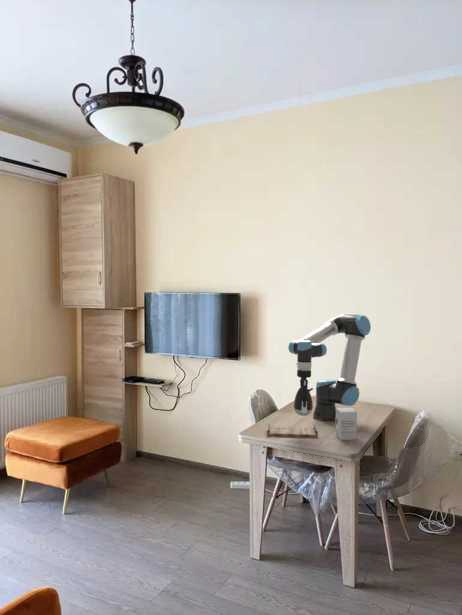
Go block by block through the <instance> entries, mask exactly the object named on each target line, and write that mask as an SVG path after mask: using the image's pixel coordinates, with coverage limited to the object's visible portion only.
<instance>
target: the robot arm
mask: <svg viewBox="0 0 462 615" xmlns="http://www.w3.org/2000/svg"><path fill="white" fill-rule="evenodd" d="M371 326H372V325H371V321H370V319H369V317H367V316H366V315H363V314H338V315H337V316H335V317H332V318H330V319H328V320H327V321H326V322H325V323H324V325H322V326H320V327H318V328H317V329H315V330H314V331H312V332H310V333H308V334H307V335H306V336H304V337H302V338H301V339H298V340H291V341H290V342H289V343H288V347H287V348H288V351H289V353H290V354H294V355H297V356H296V358H297V362H296V364H295V365H296V376H297V377H298V378H300V380H299V385H300V387H301V389H302V399H301V401H302V413H307V400H308V399H307V389H309V388H308V386H309V385H308V383H309V380H308V379H307V378H311V377H312V358H321V357H324V356H326V354H327V353H328V352H327V350H328V349H327V346H326V344H325V343H322V342H323V341H325V340H326V339H328V338H330V337H331V336H335V335H338V334H344V336H345V337H346V342H345V348H344V353H343V358H342V359H343V360H342V364H341V370H340V376H339V378H338V379H336V380H335V379H321V380H317V381H316V386H315V407H314V410H313V412H312V418H314V419H315V420H318V421H328V422H330V421H336V408H337V407H336V404H338V405H343V406H348V407H349V406H350V407H352V406H354V405H355V404H356V403H357V402H358V401H359V398H360V389H359V388H358V387H357V386H358V385H357V382H356V376H357V370H358V369H357V368H358V365H359V364H358V362H359V357H360V352H361V345H362V341H363V340H365V338H366V336H367V335H369V334H370V333H371Z"/></svg>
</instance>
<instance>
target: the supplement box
mask: <svg viewBox="0 0 462 615" xmlns="http://www.w3.org/2000/svg"><path fill="white" fill-rule="evenodd" d="M357 423H358V412H357V411H356V410H355V409H353V408H352V407H336V420H335V436H336V438H337V439H339V440H340V441H354V440H355V441H357V432H358V431H357V430H358V429H357V425H358V424H357Z"/></svg>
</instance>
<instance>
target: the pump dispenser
mask: <svg viewBox="0 0 462 615" xmlns="http://www.w3.org/2000/svg"><path fill="white" fill-rule="evenodd" d="M313 390H314V388H313V387H311V388H307V399H308V400H307V413H302V401H301V399H302V389H301V386H300V387H299V388H298V390H297V392H296V394H295V397H294V401H293V409H294V411H295V412H294V413H295V414H297V415H299V416H302V417H304V416H305V417H306V416H308V415H310V414H311V413H312V411H313V407H314V405H313V399H312V395H311V391H313Z"/></svg>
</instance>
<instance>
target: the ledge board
mask: <svg viewBox="0 0 462 615" xmlns="http://www.w3.org/2000/svg"><path fill="white" fill-rule="evenodd" d="M267 428H268V432H267V436H268V437H280V438H281V437H283V438H314V439H315V438H317V439H318V438H319V437H318V428H317V426H316V424H313V428H312V427H310V428H309V427H285V426H284V427H281V426H277V427H276V426H271V423H269V422H268V424H267Z"/></svg>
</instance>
